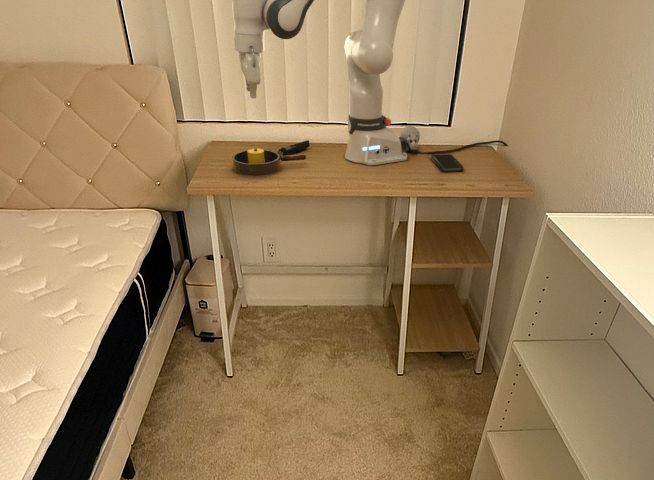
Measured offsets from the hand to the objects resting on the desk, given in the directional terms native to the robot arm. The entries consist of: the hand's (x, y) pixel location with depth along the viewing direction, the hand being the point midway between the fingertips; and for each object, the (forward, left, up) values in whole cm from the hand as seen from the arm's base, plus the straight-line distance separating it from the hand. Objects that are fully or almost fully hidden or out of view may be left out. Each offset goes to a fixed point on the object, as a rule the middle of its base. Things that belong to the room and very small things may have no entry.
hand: (251, 94), depth 175 cm
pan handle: (-12, +1, -21) cm, 25 cm away
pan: (0, +1, -23) cm, 23 cm away
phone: (-65, +11, -23) cm, 70 cm away
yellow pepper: (0, +1, -23) cm, 23 cm away
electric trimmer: (-15, -13, -23) cm, 31 cm away
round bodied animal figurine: (-57, -5, -23) cm, 62 cm away
